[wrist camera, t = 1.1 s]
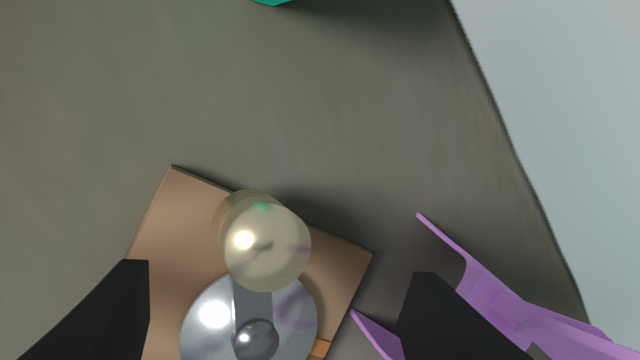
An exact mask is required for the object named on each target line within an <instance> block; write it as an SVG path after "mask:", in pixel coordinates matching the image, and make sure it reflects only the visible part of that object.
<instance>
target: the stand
mask: <svg viewBox="0 0 640 360" xmlns="http://www.w3.org/2000/svg"><path fill="white" fill-rule="evenodd" d="M232 193H234V191H231V190H229V189H227V188H224V187H222V186H220V185H217V184H215V183H213V182H210V181H208V180H206V179H204V178H201V177H199V176H197V175H194V174H192V173H190V172H187V171H185V170H183V169H180V168H178V167H176V166H174V165H171V164H170V166H169V168H168V170H167V172H166V174H165V176H164V178H163V180H162V182H161V184H160V186H159V188H158V190H157V192H156V194H155V196H154V198H153V200H152V202H151V204H150V206H149V208H148V210H147V212H146V214H145V216H144V218H143V221H142V223H141V225H140V227H139V229H138V231H137V233H136V235H135V237H134V239H133V241H132V243H131V245H130V247H129V249H128V251H127V253H126V255H125V257H124V259H141V260H149V285H150V323H149V328H148V332H147V337H146V341H145V345H144V349H143V353H142V358H141V360H181V358H180V352H179V330H180V326H181V322H182V319H183V316H184V314H185V312H186V310H187V308H188V306H189V304H190V303H191V301H192V300H193V299H194V297H195V296H196V295H197V294H198V293H199V292H200V291H201V289H202V288H203V287H205V286H206V285H207V284H208V283H209V282H211V281H212V280H213V279H215V278H216V277H218V276H220V275H222V274H223V273H225V272H227V271H229V269H228V267H227V265H226V263H225V261H224V259H223V257H222V255H221V253H220V251H219V249H218V247H217V245H216V243H215V241H214V239H213V235H212V230H211V224H212V218H213V215H214V212H215V210H216V208H217V207H218V205H219V204H220V203H221V202H222V201H223V200H224V199H225V198H226V197H227V196H229V195H230V194H232ZM304 223H305V222H304ZM305 225H306V226H307V228H308V231H309V233H310V237H311V254H310V258H309V261H308V263H307V265H306V267H305V269H304V270H303V272H302V273H301V274H300V276H299V277H298V278H297V279H299V280H300V281H301V283H302V284H303V285H304V286H305V287H306V289H307V290H308V291H309V293H310V294H311V296H312V298H313V301H314V303H315V306H316V311H317V319H318V320H317V332H316V337H315V340H314V343H313V346H312V348H311V351H310V353H309V354H308V356H307V358H306V359H305V360H323V358H324V357H325V355H326V353H327V351H328V349H329V347H330V345H331V341H332V339H333V337H334V335H335V333H336V331H337V329H338V327H339V325H340V323H341V321H342V318H343V316H344V314H345V312H346V310H347V308H348V306H349V304H350V302H351V300H352V298H353V296H354V294H355V292H356V290H357V288H358V285H359V283H360V281H361V279H362V277H363V275H364V273H365V271H366V269H367V267H368V265H369V263H370V261H371V259H372V257H373V254H371V253H370V252H369V251H367V250H366V249H364V248H363V247H361V246H358V245H356V244H354V243H351V242H349V241H347V240H345V239H342V238H340V237H338V236H335V235H333V234H331V233H328V232H326V231H324V230H321V229H319V228H317V227H314V226H312V225H310V224H308V223H305Z"/></svg>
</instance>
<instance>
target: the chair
mask: <svg viewBox="0 0 640 360" xmlns="http://www.w3.org/2000/svg"><path fill="white" fill-rule="evenodd" d="M415 216H416V217H417V218H418V219H419V220H420V221H422V222H423V223H424V224H425V225H426V226H427V227H429V228H430V229H431V230H432V231H433V232H434V233H435V234H437V235H438V236H439V237H440V238H441V239H442V240H444V241H445V242H446V243H447V244H448V245H450V246H451V247H452V248H453V249H454V250H455V251H457V252H458V253H459V254H460V255H461V256H463V257H464V258H465V259H466V264H467V265H466V271H465V274H464V276H463V278H462V280H461V282H460V283H459V285H458V287H457V288H456V290H455V291H456V292H457V293H458V294H459V295H460V296H461V297H462V298H463V299H465V300H466V301H467V302H468V303H469V304H470V305H471V306H472V307H473V308H474V309H475V310H477V311H478V312H479V313H480V314H481V315H482V316H483V317H484V318H485V319H487V320H488V321H489V322H490V323H491V324H492V325H493V326H494V327H496V328H497V329H498V330H499V331H500V332H501V333H502V334H504V335H505V336H506V337H507V338H508V339H509V340H511V341H512V342H513V343H514V344H516V345H517V346H518V347H519V348H520V349H522V350H523V351H524V352H525V351H526V350H527V348H528V347H529V346H530V344H531V343H532V342H534V343H535V344H536V345H537V346H539V347H540V348H541V349H542V350H543V351H544V352H545V353H546V354H547V355H548V356H549V357H550V358H551V359H552V360H640V352H638V351H635V350H632V349H630V348H627V347H624V346H622V345H619V344H616V343H614V342H613V341H612V340H611V339H609V338H608V337H607V336H606V335H605V334H604V333H603V332H602V331H601V330H599V329H598V328H596V327H594V326H591V325H589V324H586V323H583V322H580V321H578V320H575V319H572V318H569V317H567V316H564V315H561V314H558V313H556V312H553V311H550V310H548V309H545V308H542V307H539V306H537V305H534V304H531V303H528V302H526V301H523V300H522V299H521V298H520V297H519V296H518V295H516V294H515V293H514V292H513V291H512V290H511V289H509V288H508V287H507V286H506V285H505V284H503V283H502V282H501V281H500V280H499V279H498V278H496V277H495V276H494V275H493V274H492V273H491V272H489V271H488V270H487V269H486V268H485V267H484V266H482V265H481V264H480V263H479V262H478V261H476V260H475V259H474V258H473V257H472V256H471V255H469V254H468V253H467V252H466V251H464V250H463V249H462V248H460V247H459V246H458V245H457V244H455V243H454V242H453V241H452V240H451V239H450V238H448V237H447V236H446V235H445V234H444V233H442V232H441V231H440V230H439V229H438V228H437V227H435V226H434V225H433V224H432V223H431V222H430V221H428V220H427V219H426V218H425V217H424V216H422V215H421V214H420V213H419V212H417V214H416V215H415ZM349 314H350V315H351V316H352V318H353V319H354V320H355V322H356V323H357V324H358V326H359V327H360V328H361V330H362V331H363V332H364V334H365V335H366V336H367V338H368V339H369V340H370V342H371V343H372V344H373V345H374V347H375V348H376V349H377V350H378V352H379V353H380V354H381V355H382V356H383V357H384V359H385V360H405V357H404V353H403V349H402V345H401V341H400V338H399V337H397V336H396V335H394V334H392V333H391V332H389V331H388V330H386V329H384V328H383V327H381V326H380V325H378V324H376V323H375V322H373V321H372V320H370V319H368V318H367V317H365V316H364V315H362V314H361V313H359V312H357V311H356V310H354V309H351V310H350V312H349Z"/></svg>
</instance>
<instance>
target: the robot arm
mask: <svg viewBox="0 0 640 360" xmlns="http://www.w3.org/2000/svg"><path fill="white" fill-rule="evenodd" d="M149 323H150V285H149V260H141V259H122V260H121V261H119V262H118V263H117V264H116V265H115V267H114V268H113V269H112V270H111V271H110V272H109V273H108V274H107V275H106V276H105V277H104V278H103V279H102V280H101V281H100V283H99V284H98V285H97V286H96V287H95V288H94V289H93V290H92V291H91V292H90V293H89V294H88V295H87V296H86V297H85V298H84V299H83V300H82V301H81V302H80V303H79V304H78V305H77V306H76V307H75V308H74V309H73V310H71V311H70V312H69V313H68V314H67V315H66V316H65V317H64V318H63V319H62V320H61V321H60V322H59V323H58V324H57V325H56V326H55V327H53V328H52V329H51V330H50V331H49V332H48V333H47V334H46V335H44V336H43V337H42V338H41V339H40V340H39V341H38V342H36V343H35V344H34V345H33V346H32V347H31V348H30V349H29V350H27V351H26V352H25V353H24V354H23V355H22V356H20V357H19V358H18V359H17V360H141V358H142V353H143V349H144V345H145V341H146V337H147V332H148V328H149ZM397 327H398V332H399V336H400V341H401V345H402V349H403V353H404V357H405V360H534V359H533V358H532V357H530V356H529V355H528V354H527V353H525V352H524V351H523V350H522V349H520V348H519V347H518V346H517V345H516V344H514V343H513V342H512V341H511V340H509V339H508V338H507V337H506V336H505V335H504V334H502V333H501V332H500V331H499V330H498V329H497V328H496V327H494V326H493V325H492V324H491V323H490V322H489V321H488V320H487V319H485V318H484V317H483V316H482V315H481V314H480V313H479V312H478V311H477V310H475V309H474V308H473V307H472V306H471V305H470V304H469V303H468V302H467V301H466V300H465V299H463V298H462V297H461V296H460V295H459V294H458V293H457V292H456V291H455V290H454V289H453V288H451V287H450V286H449V285H448V284H447V283H446V282H445V281H444V280H443V279H441V278H440V277H439V276H438V275H437V274H435V273H434V272H414V274H413V277H412V280H411V283H410V286H409V289H408V292H407V295H406V298H405V300H404V303H403V306H402V309H401V312H400V315H399V318H398V321H397Z"/></svg>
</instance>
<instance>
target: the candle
mask: <svg viewBox="0 0 640 360" xmlns="http://www.w3.org/2000/svg"><path fill="white" fill-rule="evenodd" d="M253 1H257V2H260V3H264V4H267V5H271V6H275V5H278V4H281V3H285V2H288V1H291V0H253Z"/></svg>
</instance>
